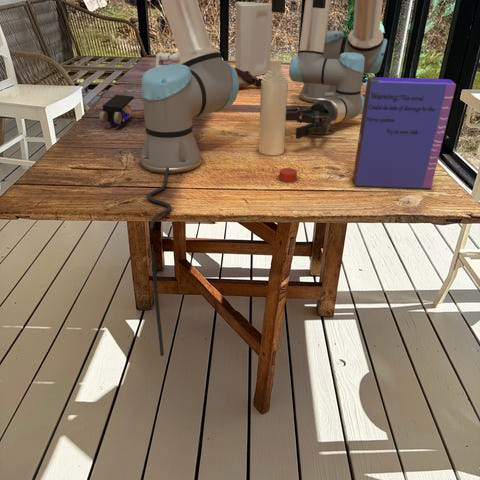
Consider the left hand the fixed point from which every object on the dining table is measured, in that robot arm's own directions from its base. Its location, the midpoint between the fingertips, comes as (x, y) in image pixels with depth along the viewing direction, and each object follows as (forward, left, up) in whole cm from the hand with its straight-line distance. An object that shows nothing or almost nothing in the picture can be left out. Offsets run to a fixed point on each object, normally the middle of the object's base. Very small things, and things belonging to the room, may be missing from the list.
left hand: (299, 10), depth 97 cm
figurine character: (+30, +56, -37) cm, 74 cm away
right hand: (+20, +5, -31) cm, 37 cm away
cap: (0, 0, -35) cm, 35 cm away
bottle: (+18, +6, -37) cm, 42 cm away
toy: (+118, +60, -37) cm, 137 cm away
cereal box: (+2, -24, -37) cm, 44 cm away
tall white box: (+116, +28, -37) cm, 125 cm away
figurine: (+86, +26, -37) cm, 97 cm away
